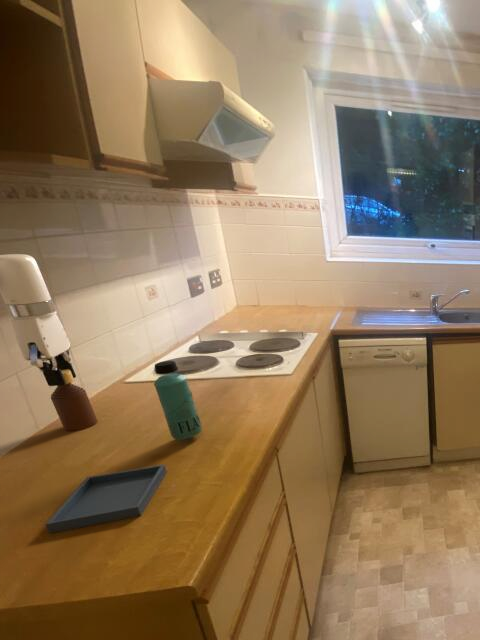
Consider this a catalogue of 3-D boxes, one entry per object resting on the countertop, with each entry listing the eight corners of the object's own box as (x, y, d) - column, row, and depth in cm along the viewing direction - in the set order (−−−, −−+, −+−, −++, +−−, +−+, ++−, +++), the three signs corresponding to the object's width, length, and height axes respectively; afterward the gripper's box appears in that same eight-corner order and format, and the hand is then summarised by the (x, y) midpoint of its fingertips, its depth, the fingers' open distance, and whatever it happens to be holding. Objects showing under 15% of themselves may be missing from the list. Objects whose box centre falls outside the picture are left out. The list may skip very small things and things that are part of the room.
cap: (48, 386, 106) (43, 375, 105) (57, 380, 110) (53, 370, 108) (69, 384, 107) (64, 373, 106) (77, 378, 111) (73, 368, 110)
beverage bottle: (181, 447, 103) (155, 369, 95) (167, 440, 106) (140, 364, 98) (210, 436, 108) (187, 360, 101) (196, 429, 111) (173, 356, 104)
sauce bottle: (59, 432, 109) (36, 381, 104) (72, 421, 115) (50, 372, 109) (91, 428, 111) (70, 378, 106) (102, 418, 117) (83, 369, 112)
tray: (49, 533, 76) (44, 524, 75) (90, 485, 89) (86, 477, 88) (141, 515, 81) (137, 506, 80) (167, 472, 94) (164, 464, 93)
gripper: (33, 303, 107) (62, 372, 114) (-15, 319, 93) (22, 396, 100) (71, 301, 110) (97, 368, 117) (30, 316, 95) (63, 392, 102)
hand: (62, 380), depth 108 cm, fingers closed on cap, 4 cm apart
